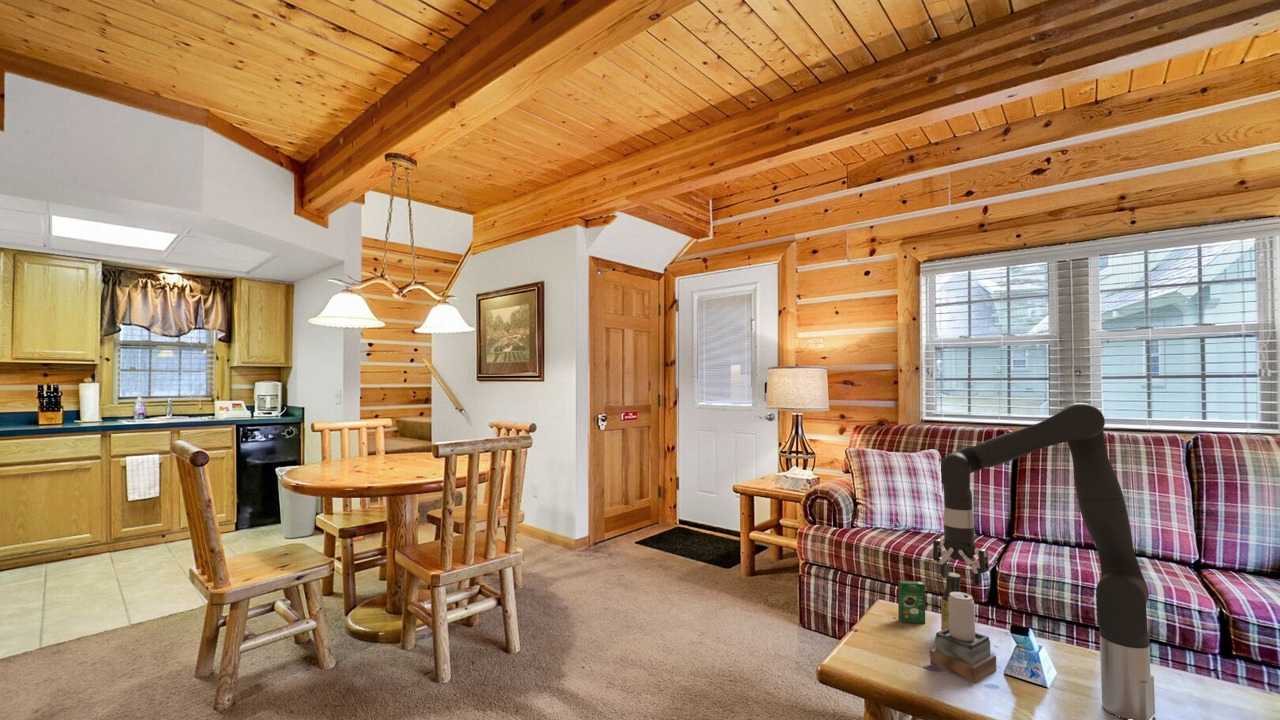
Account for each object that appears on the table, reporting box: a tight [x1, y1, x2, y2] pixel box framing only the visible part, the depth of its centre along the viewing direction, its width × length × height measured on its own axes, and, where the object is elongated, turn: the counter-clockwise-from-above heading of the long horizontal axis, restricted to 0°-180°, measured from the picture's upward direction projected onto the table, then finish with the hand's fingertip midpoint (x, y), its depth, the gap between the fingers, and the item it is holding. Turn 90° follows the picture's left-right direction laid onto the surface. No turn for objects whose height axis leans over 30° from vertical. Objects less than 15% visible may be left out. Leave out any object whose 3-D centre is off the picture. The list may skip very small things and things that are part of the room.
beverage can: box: [948, 591, 976, 642], centre depth 158 cm, size 6×6×12 cm
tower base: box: [929, 627, 997, 684], centre depth 158 cm, size 12×12×9 cm
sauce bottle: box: [940, 571, 962, 631], centre depth 176 cm, size 7×6×20 cm
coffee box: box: [897, 580, 926, 624], centre depth 188 cm, size 8×3×13 cm, turn 85°
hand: (960, 581), depth 159 cm, fingers open, 8 cm apart
